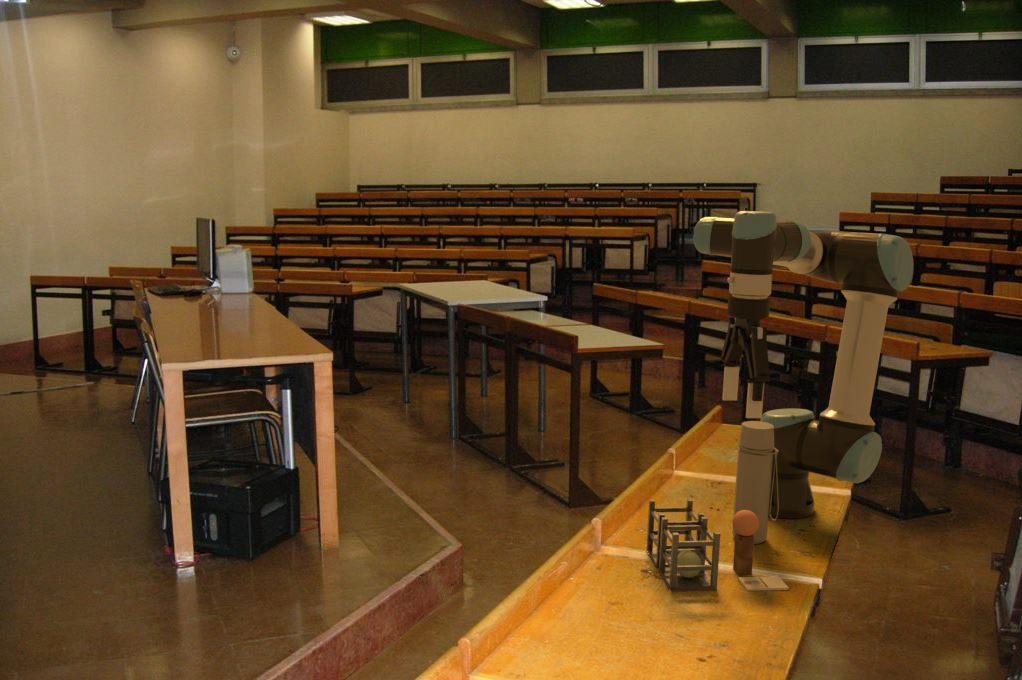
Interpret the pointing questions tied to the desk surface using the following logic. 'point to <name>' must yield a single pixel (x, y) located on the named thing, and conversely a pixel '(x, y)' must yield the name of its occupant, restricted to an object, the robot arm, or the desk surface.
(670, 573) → the dark open frame crate
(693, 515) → the wireframe cube
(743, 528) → the ball terracotta
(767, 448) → the water bottle
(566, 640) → the desk surface
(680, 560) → the ball sage
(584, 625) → the desk surface
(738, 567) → the peg stand
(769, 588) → the card
